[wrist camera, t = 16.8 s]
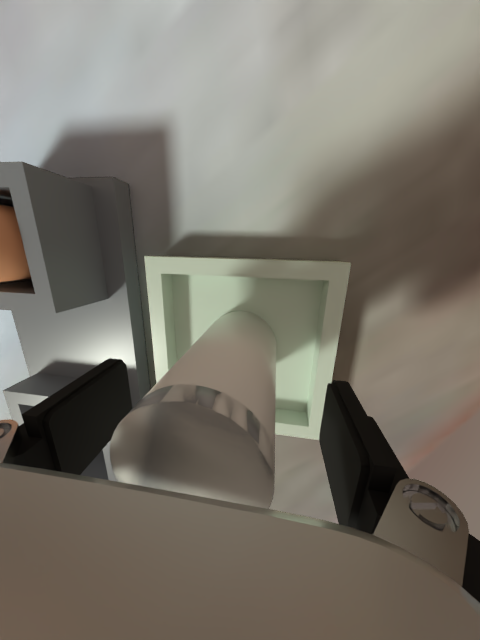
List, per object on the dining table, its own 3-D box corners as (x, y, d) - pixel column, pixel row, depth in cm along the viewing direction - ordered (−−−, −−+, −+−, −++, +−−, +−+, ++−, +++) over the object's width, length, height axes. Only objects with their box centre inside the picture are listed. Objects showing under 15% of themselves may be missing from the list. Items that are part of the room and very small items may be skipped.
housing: (0, 185, 16) (-130, 154, 11) (128, 184, 15) (48, 147, 10) (65, 440, 23) (3, 495, 18) (157, 454, 22) (119, 519, 16)
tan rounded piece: (10, 211, 14) (-87, 196, 10) (65, 211, 14) (-15, 196, 10) (25, 274, 15) (-55, 282, 12) (77, 277, 15) (10, 285, 11)
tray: (162, 255, 16) (144, 256, 14) (339, 261, 14) (351, 262, 12) (172, 399, 19) (159, 418, 17) (316, 417, 18) (321, 440, 16)
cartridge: (206, 309, 16) (97, 391, 6) (278, 313, 15) (280, 413, 5) (207, 372, 17) (121, 519, 8) (274, 379, 16) (269, 550, 7)
